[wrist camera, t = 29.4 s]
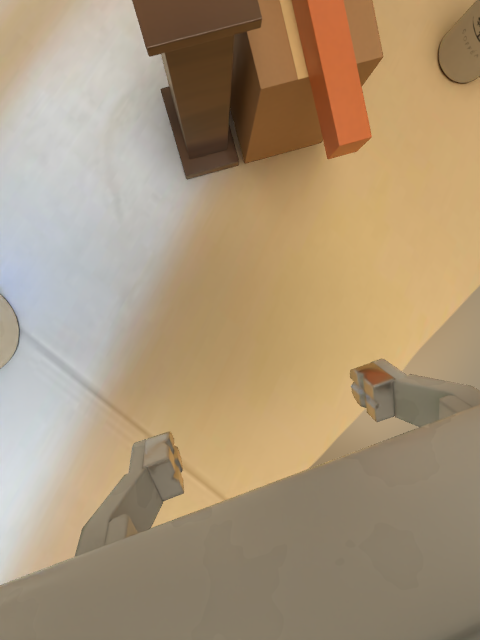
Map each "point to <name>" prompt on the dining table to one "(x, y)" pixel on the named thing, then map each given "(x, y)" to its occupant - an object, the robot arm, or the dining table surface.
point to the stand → (198, 72)
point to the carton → (287, 78)
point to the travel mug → (462, 47)
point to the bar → (333, 75)
